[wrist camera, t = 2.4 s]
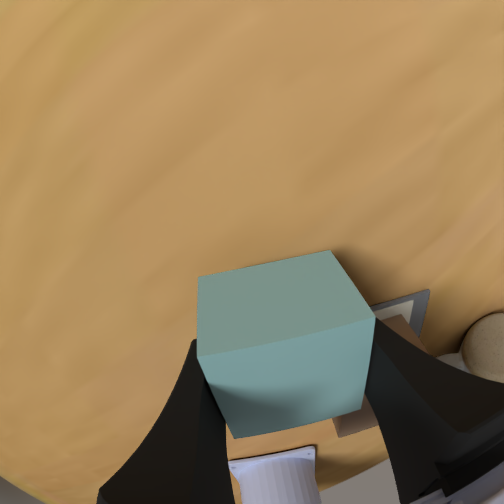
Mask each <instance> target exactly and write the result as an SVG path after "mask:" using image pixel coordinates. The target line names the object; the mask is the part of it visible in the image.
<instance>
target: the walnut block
mask: <svg viewBox="0 0 504 504" xmlns="http://www.w3.org/2000/svg"><path fill="white" fill-rule="evenodd" d="M380 321H382V322H383V323H384V324H385V325H387V326H388V327H389V328H391V329H392V330H393V331H395V332H396V333H397V334H399V335H400V336H402V337H403V338H404V339H406V340H407V341H409V342H410V343H412V344H413V345H415V346H416V347H418V348H419V349H421V350H422V351H424V352H426V353H428V354H429V352H428V351H427V350H426V348H425V347H424V345H423V344H422V342H421V341H420V339H419V338H418V336H417V335H416V334H415V332H414V331H413V329H412V328H411V327H410V325H409V324H408V322H407V321H406V320H405V318H404V317H403V315H402V314H399V315H396V316H393V317H390V318H386V319H383V320H380ZM429 355H430V354H429ZM332 420H333V423H334V426H335V428H336V431H337V434H338V437H339V438H340V437H344V436H347V435H350V434H354V433H357V432H360V431H363V430H366V429H369V428H372V427H375V426H377V425H379V424H378V421H377V418H376V416H375V414H374V412H373V409H372V407H371V405H370V403H369V401H368V399H367V397H366V395H365V394H364V396H363V401H362V406H361V409H359V410H356V411H353V412H350V413H347V414H343V415H340V416H337V417H333V418H332Z"/></svg>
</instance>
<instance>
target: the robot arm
mask: <svg viewBox="0 0 504 504" xmlns="http://www.w3.org/2000/svg"><path fill="white" fill-rule="evenodd" d="M364 394H365V395H366V397H367V399H368V401H369V403H370V405H371V407H372V409H373V412H374V414H375V416H376V418H377V421H378V424H379V427H380V430H381V433H382V435H383V438H384V442H385V445H386V448H387V451H388V454H389V458H390V461H391V465H392V469H393V473H394V476H395V481H396V485H397V490H398V494H399V500H400V503H401V504H446V503H447V504H504V383H501V382H497V381H492V380H488V379H485V378H482V377H479V376H476V375H473V374H470V373H467V372H465V371H462V370H460V369H458V368H455V367H453V366H451V365H449V364H447V363H444V362H442V361H440V360H439V359H437V358H435V357H433V356H431V355H429V354H428V353H426V352H424V351H422V350H421V349H419V348H418V347H416V346H415V345H413V344H412V343H410V342H409V341H407V340H406V339H404V338H403V337H402V336H400V335H399V334H397V333H396V332H395V331H393V330H392V329H391V328H389V327H388V326H387V325H385V324H384V323H383V322H382V321H380V320H379V319H378V318H377V317H376V318H375V326H374V334H373V342H372V349H371V355H370V362H369V368H368V374H367V380H366V385H365V390H364ZM229 469H230V471H231V472H232V474H233V475H234V476H235V478H236V479H237V480H238V482H239V483H240V490H241V498H242V504H322V502H321V499H320V495H319V491H318V487H317V483H316V480H315V447H314V446H308V447H304V448H300V449H295V450H291V451H286V452H281V453H276V454H271V455H265V456H260V457H254V458H247V459H241V460H233V461H229V462H228V458H227V448H226V421H225V419H224V417H223V415H222V413H221V410H220V408H219V406H218V404H217V402H216V400H215V397H214V395H213V393H212V391H211V389H210V386H209V384H208V382H207V380H206V377H205V375H204V373H203V370H202V368H201V366H200V363H199V361H198V359H197V339H194V340H193V341H192V342H191V345H190V348H189V351H188V354H187V357H186V360H185V362H184V365H183V368H182V370H181V373H180V375H179V377H178V380H177V382H176V384H175V387H174V389H173V391H172V393H171V395H170V397H169V399H168V401H167V403H166V405H165V407H164V409H163V410H162V412H161V414H160V416H159V417H158V419H157V421H156V422H155V424H154V426H153V427H152V429H151V430H150V432H149V433H148V434H147V436H146V437H145V439H144V440H143V442H142V443H141V444H140V446H139V447H138V448H137V450H136V451H135V452H134V453H133V454H132V456H131V457H130V458H129V459H128V460H127V461H126V463H125V464H124V465H123V466H122V467H121V468H120V469H119V470H118V471H117V472H116V473H115V474H114V475H113V476H112V477H111V478H110V479H109V480H108V481H107V482H106V483H105V484H104V485H103V486H102V487H100V488H99V493H98V497H97V503H96V504H235V500H234V495H233V490H232V484H231V478H230V472H229Z"/></svg>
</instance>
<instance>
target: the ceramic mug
mask: <svg viewBox="0 0 504 504" xmlns="http://www.w3.org/2000/svg"><path fill="white" fill-rule="evenodd" d="M435 358H437V359H439V360H440V361H442V362H444V363H447V364H449V365H451V366H453V367H455V368H458V369H460V370H462V371H465V372H467V373H470V374H473V375H476V376H479V377H482V378H485V379H488V380H492V381H497V382H501V383H504V313H495V314H491V315H488V316H486V317H484V318H482V319H480V320H479V321H477V322H476V323H475V324H474V325H473V326H472V327H471V328H470V329H469V331H468V332H467V334H466V336H465V338H464V340H463V343H462V345H461V347H460V350H459V353H450V354H444V355H442V356H439V357H435Z"/></svg>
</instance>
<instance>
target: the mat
mask: <svg viewBox="0 0 504 504" xmlns="http://www.w3.org/2000/svg"><path fill="white" fill-rule="evenodd" d="M429 295H430V290H429V289H427V290H424V291H421V292H418V293H414V294H411V295H408V296H405V297H401V298H398V299H395V300H391V301H388V302H384V303H381V304H377V305H374V306H370V309H371V310H372V312H373V313H374V315H375V316H376V317H377V318H378V319H379V320H383V319H386V318H390V317H393V316H396V315H399V314H402V315H403V317H404V318H405V320H406V321H407V322H408V324H409V325H410V327H411V328H412V329H413V331H414V332H415V334H416V335H417V336H418V338H419V336H420V332H421V329H422V325H423V321H424V317H425V313H426V308H427V304H428V299H429Z"/></svg>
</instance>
